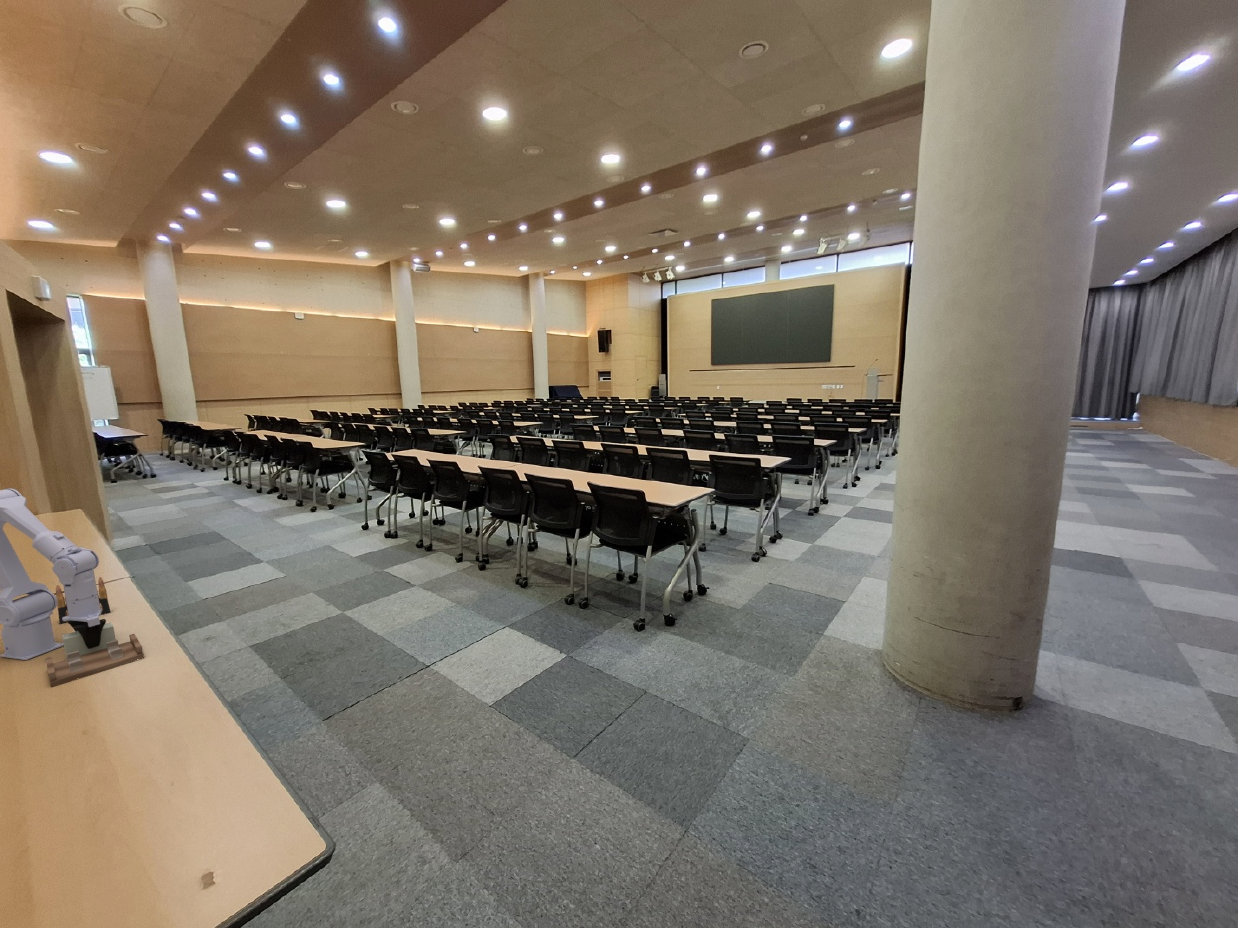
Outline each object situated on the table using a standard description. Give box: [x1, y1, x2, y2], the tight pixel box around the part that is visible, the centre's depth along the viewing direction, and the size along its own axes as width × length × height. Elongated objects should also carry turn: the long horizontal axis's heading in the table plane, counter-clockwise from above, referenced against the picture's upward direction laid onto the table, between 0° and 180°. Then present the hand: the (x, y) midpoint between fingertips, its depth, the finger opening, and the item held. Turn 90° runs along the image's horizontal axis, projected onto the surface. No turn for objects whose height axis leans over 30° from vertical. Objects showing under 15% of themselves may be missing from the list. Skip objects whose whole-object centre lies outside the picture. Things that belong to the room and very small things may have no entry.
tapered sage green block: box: [61, 621, 117, 660], centre depth 131 cm, size 4×9×6 cm, turn 142°
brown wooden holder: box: [45, 633, 145, 688], centre depth 125 cm, size 12×16×4 cm
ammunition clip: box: [55, 576, 112, 625], centre depth 151 cm, size 11×2×12 cm, turn 136°
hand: (90, 644), depth 131 cm, fingers closed on tapered sage green block, 4 cm apart
